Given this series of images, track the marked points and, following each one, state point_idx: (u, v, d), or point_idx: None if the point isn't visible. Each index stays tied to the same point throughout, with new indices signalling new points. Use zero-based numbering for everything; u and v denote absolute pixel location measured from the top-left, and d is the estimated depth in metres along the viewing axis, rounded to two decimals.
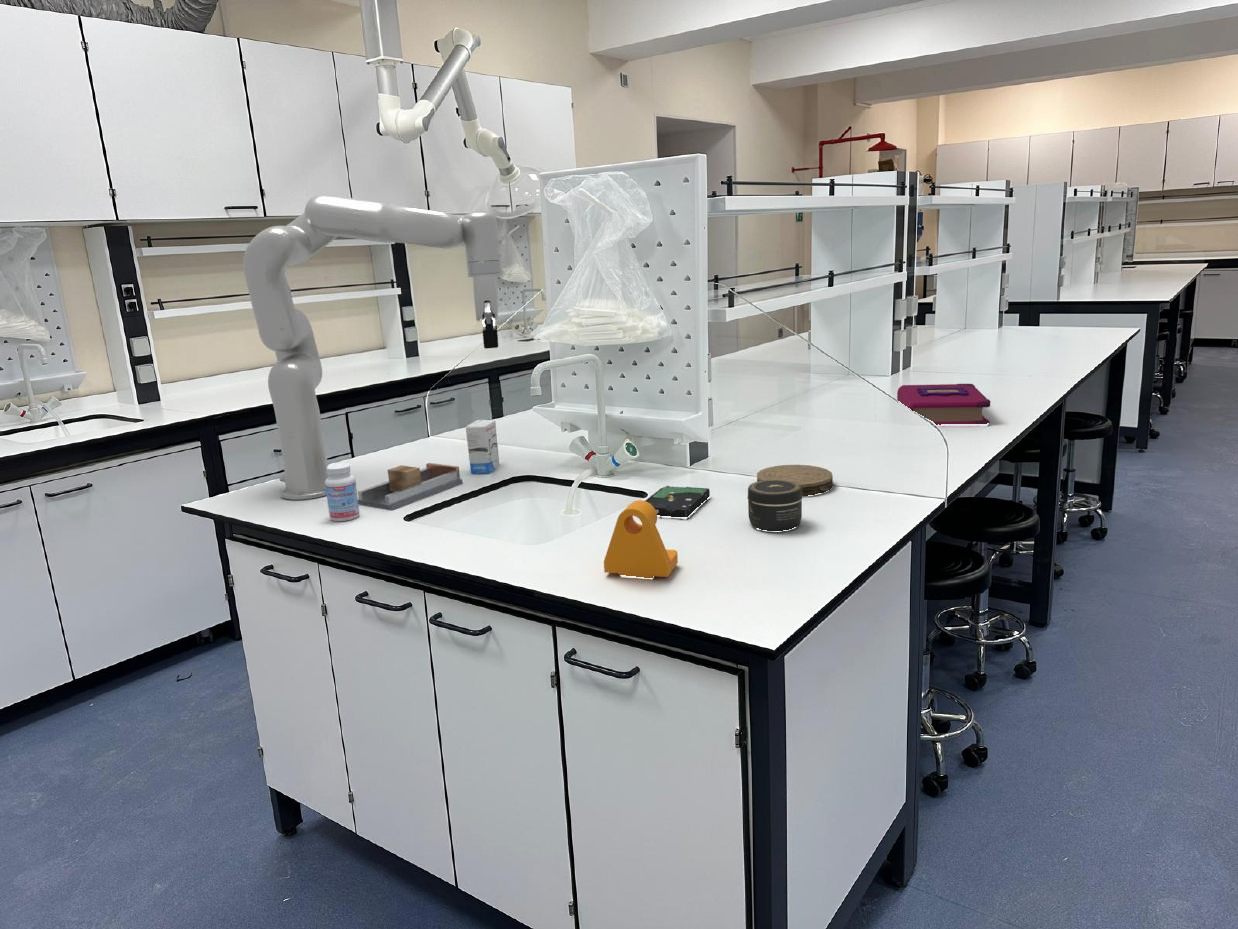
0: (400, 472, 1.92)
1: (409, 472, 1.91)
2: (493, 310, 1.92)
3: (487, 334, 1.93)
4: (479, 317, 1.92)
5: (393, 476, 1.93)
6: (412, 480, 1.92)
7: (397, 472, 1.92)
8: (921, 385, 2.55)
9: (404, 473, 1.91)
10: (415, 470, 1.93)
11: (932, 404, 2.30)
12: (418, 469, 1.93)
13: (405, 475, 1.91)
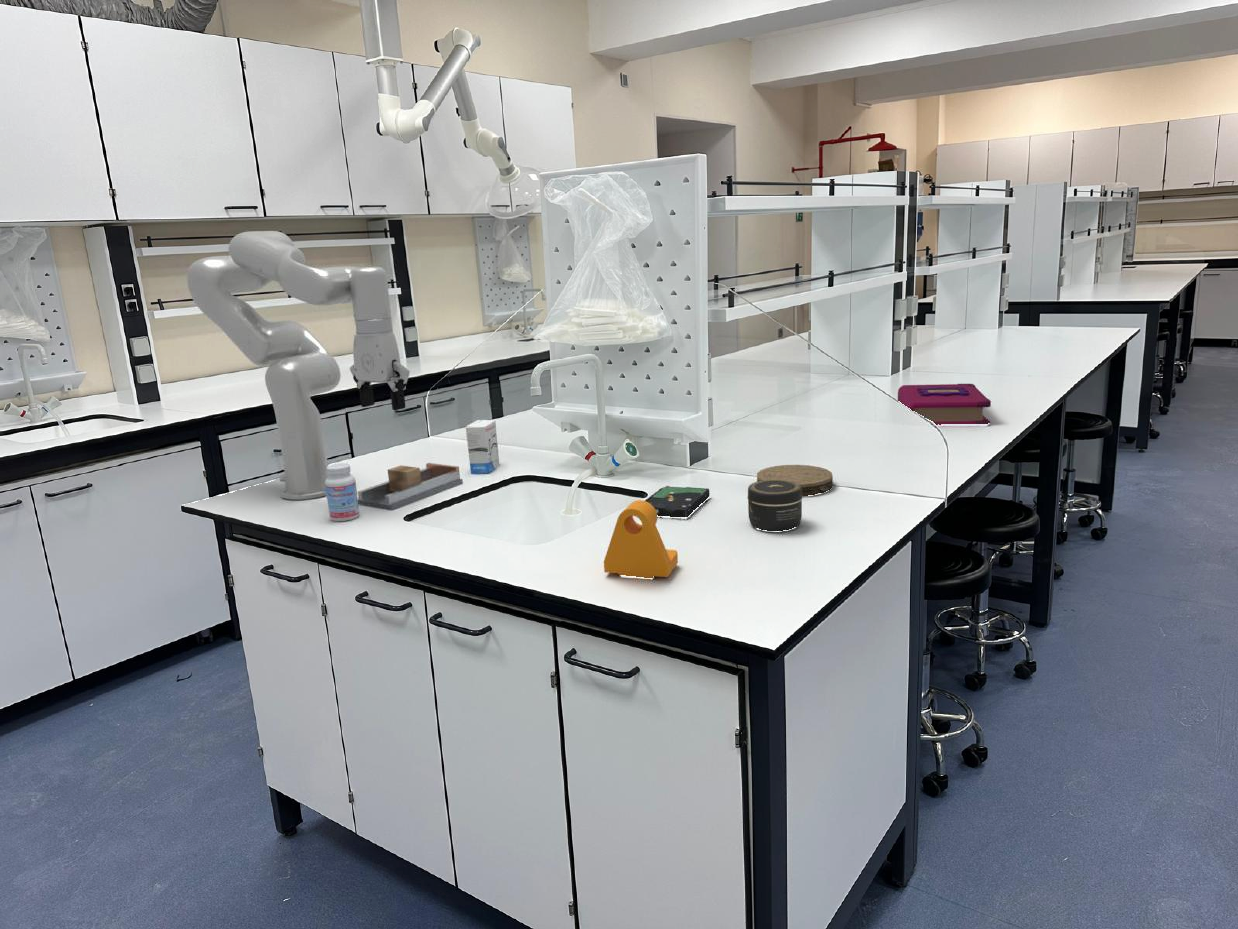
0: (400, 472, 1.92)
1: (409, 472, 1.91)
2: None
3: (398, 395, 1.81)
4: (388, 378, 1.80)
5: (393, 476, 1.93)
6: (412, 480, 1.92)
7: (397, 472, 1.92)
8: (921, 385, 2.55)
9: (404, 473, 1.91)
10: (415, 470, 1.93)
11: (932, 404, 2.30)
12: (418, 469, 1.93)
13: (405, 475, 1.91)
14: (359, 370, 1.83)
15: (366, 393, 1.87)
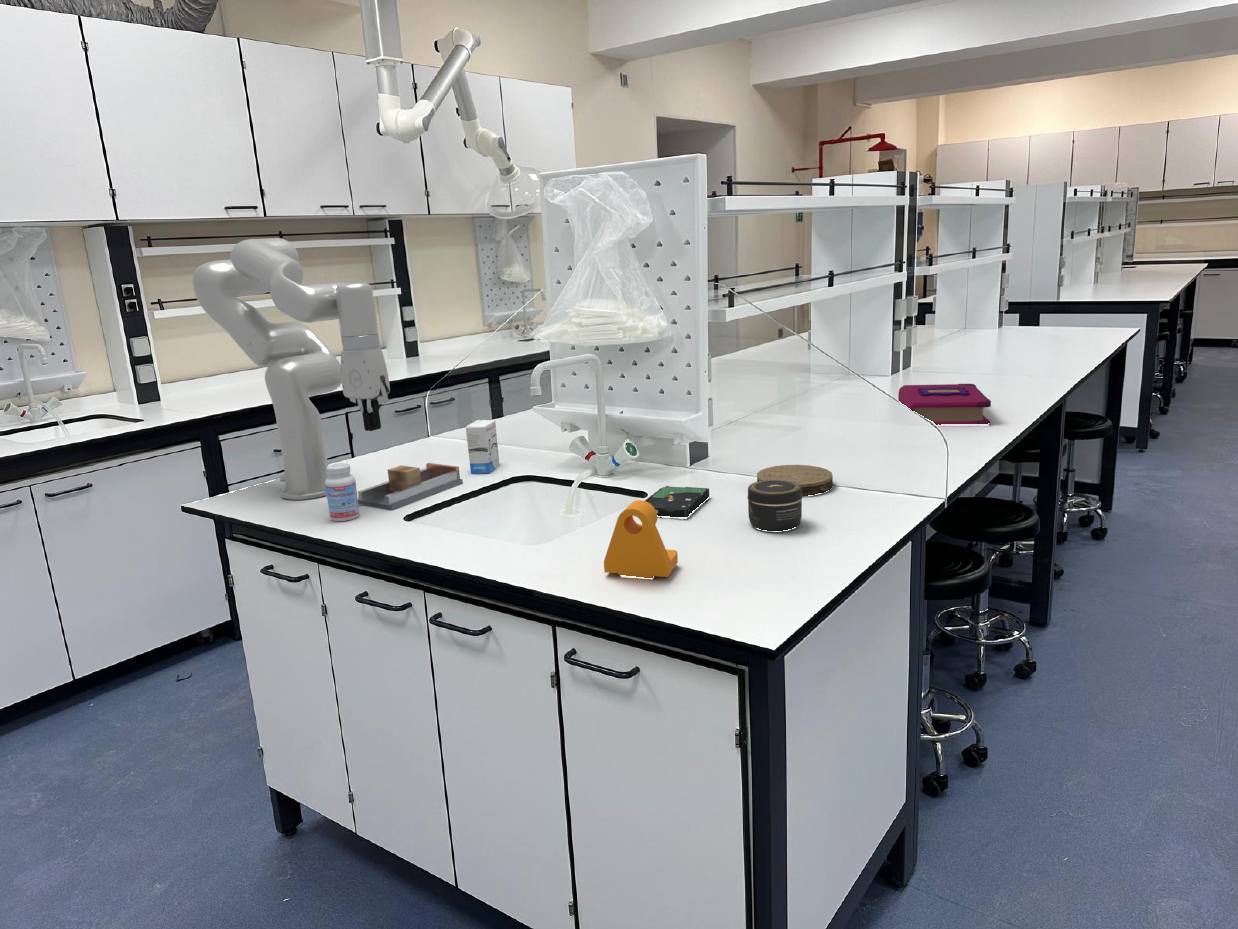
0: (400, 472, 1.92)
1: (409, 472, 1.91)
2: (388, 385, 1.81)
3: (373, 416, 1.83)
4: (376, 394, 1.78)
5: (393, 476, 1.93)
6: (412, 480, 1.92)
7: (397, 472, 1.92)
8: (922, 385, 2.55)
9: (404, 473, 1.91)
10: (415, 470, 1.93)
11: (932, 404, 2.30)
12: (418, 469, 1.93)
13: (405, 475, 1.91)
14: (347, 387, 1.82)
15: None
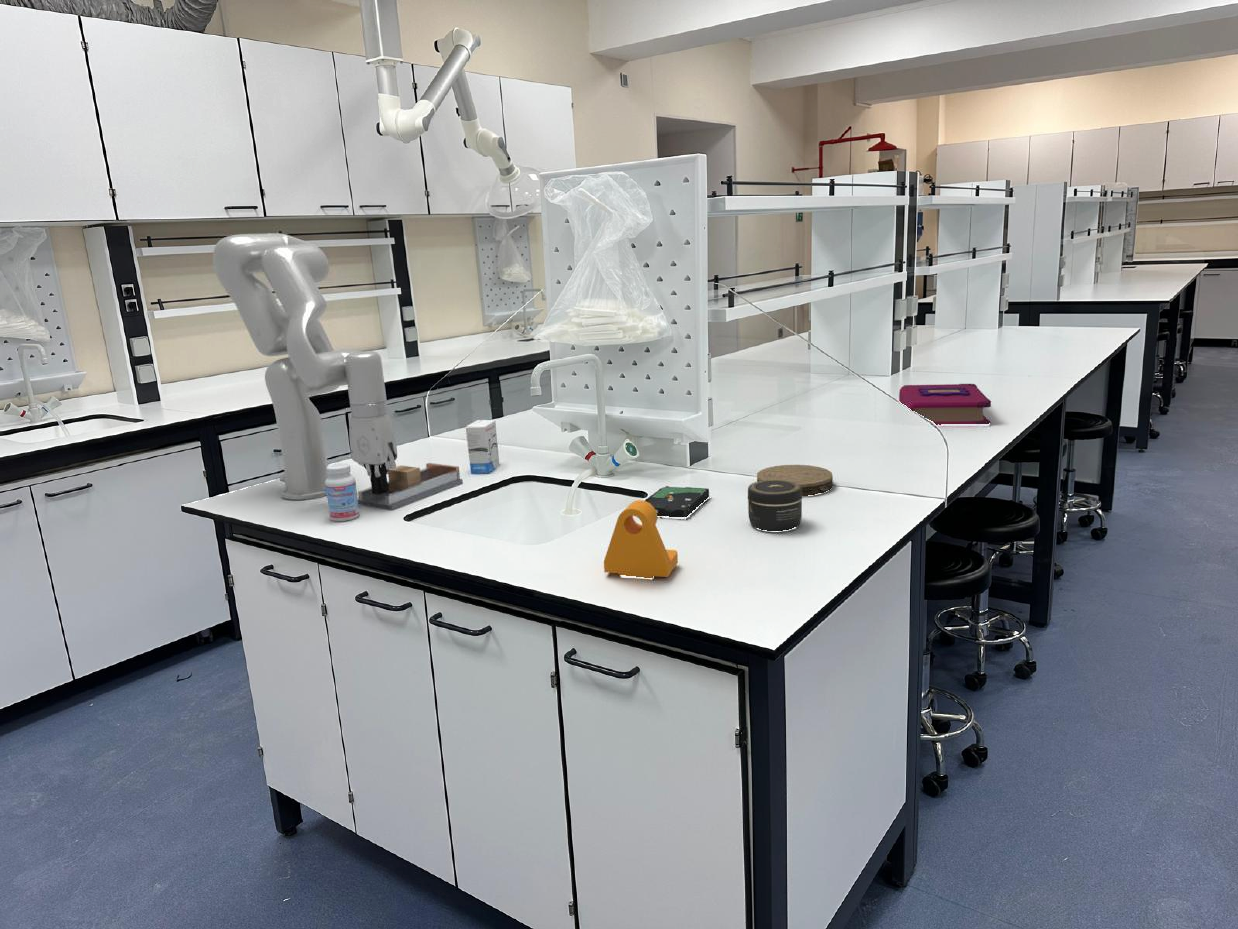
0: (400, 472, 1.92)
1: (409, 472, 1.91)
2: (395, 451, 1.84)
3: (381, 480, 1.86)
4: (384, 460, 1.82)
5: (393, 476, 1.93)
6: (412, 480, 1.92)
7: (397, 472, 1.92)
8: (923, 385, 2.55)
9: (404, 473, 1.91)
10: (415, 470, 1.93)
11: (932, 404, 2.30)
12: (418, 469, 1.93)
13: (405, 475, 1.91)
14: (355, 452, 1.85)
15: None
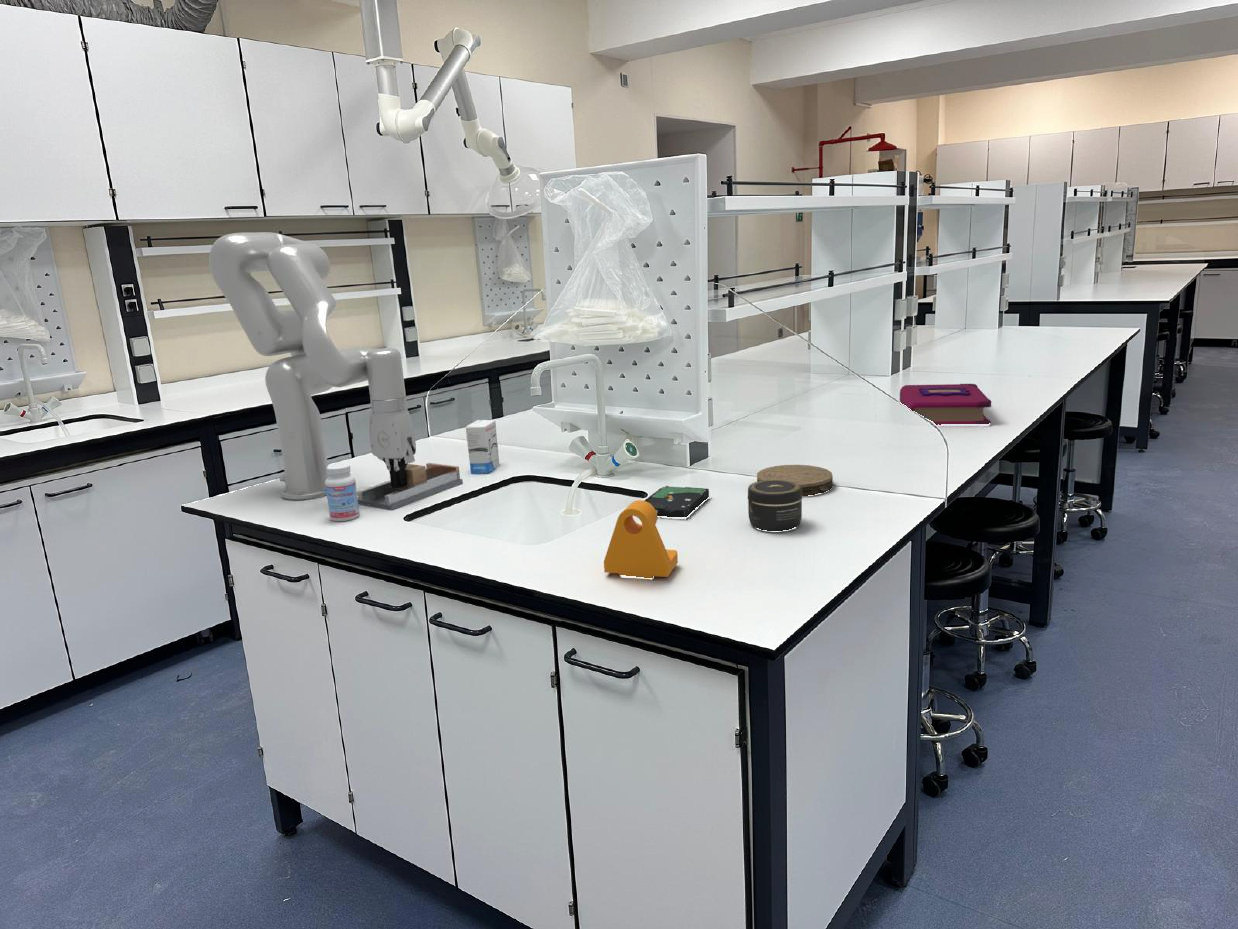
0: (406, 470, 1.93)
1: (415, 470, 1.93)
2: (414, 445, 1.89)
3: (400, 474, 1.91)
4: (403, 455, 1.87)
5: None
6: (417, 478, 1.93)
7: None
8: (923, 385, 2.55)
9: (410, 471, 1.92)
10: (420, 468, 1.94)
11: (933, 404, 2.30)
12: (423, 467, 1.95)
13: (410, 473, 1.92)
14: (375, 446, 1.90)
15: None
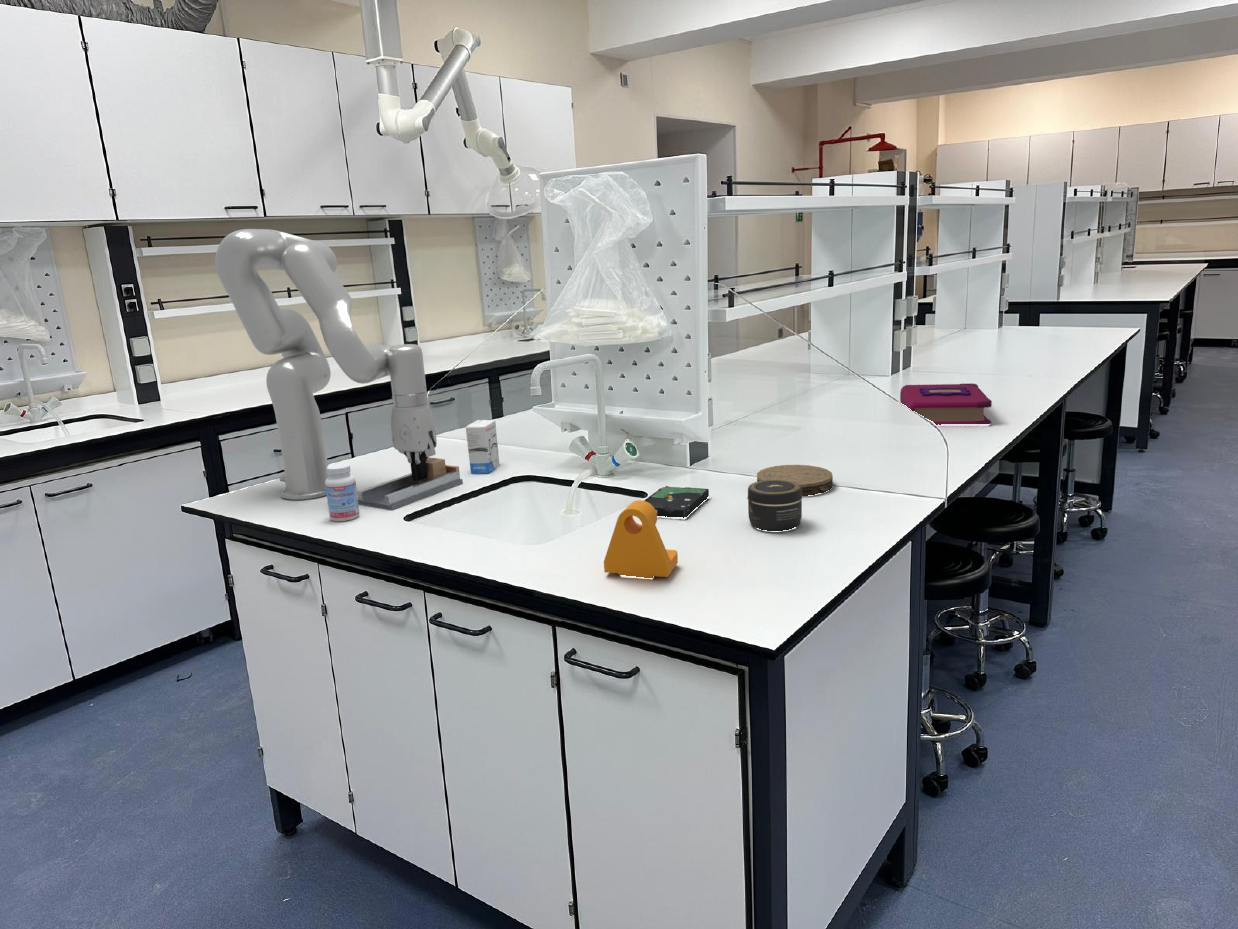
0: (426, 463, 1.98)
1: (435, 463, 1.98)
2: (435, 439, 1.94)
3: (421, 467, 1.96)
4: (425, 448, 1.92)
5: None
6: (437, 471, 1.99)
7: None
8: (924, 385, 2.55)
9: (430, 464, 1.97)
10: (440, 461, 1.99)
11: (933, 404, 2.30)
12: (443, 460, 2.00)
13: (431, 466, 1.97)
14: (397, 440, 1.95)
15: None
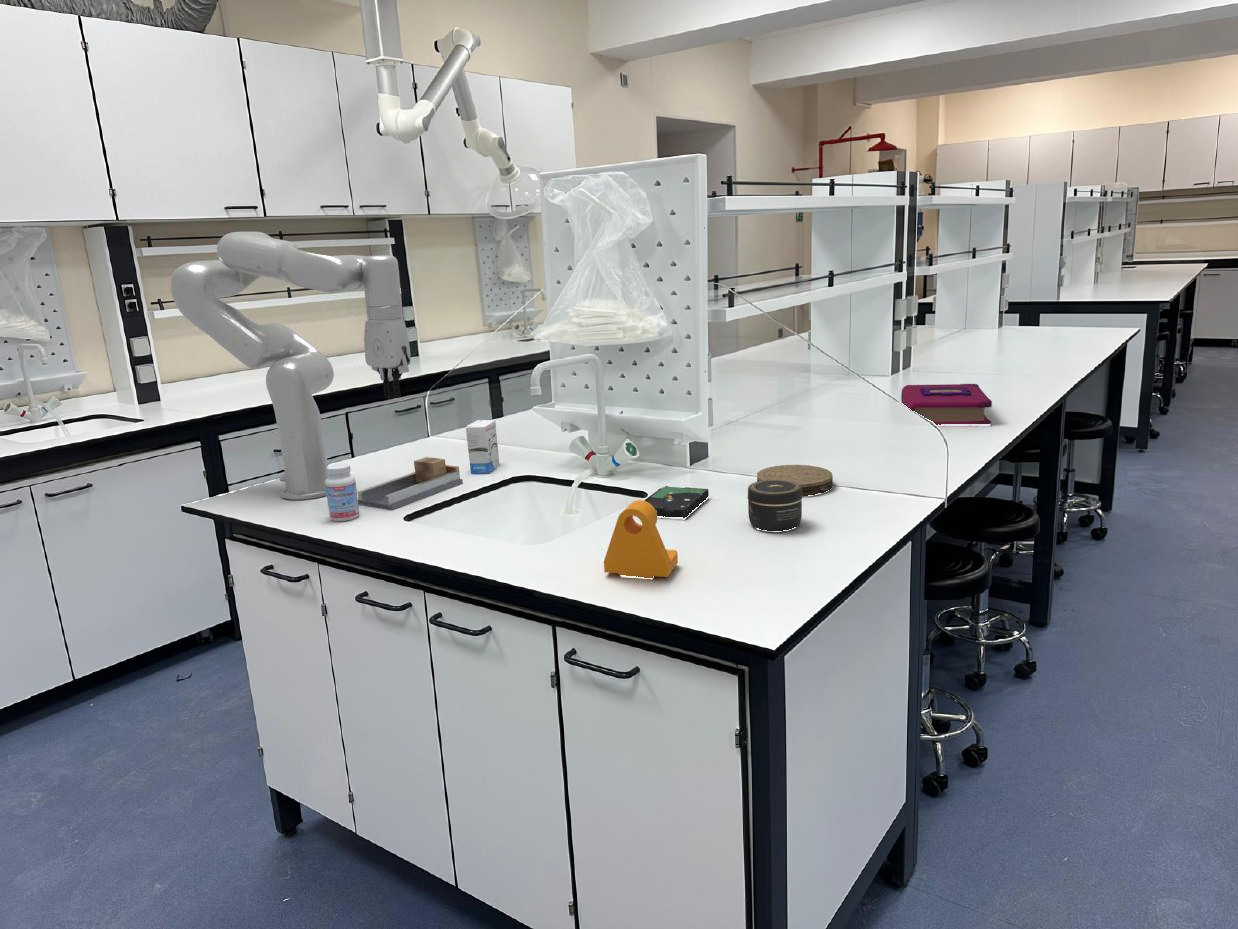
0: (426, 463, 1.98)
1: (435, 463, 1.98)
2: (408, 355, 1.87)
3: (394, 384, 1.90)
4: (397, 363, 1.85)
5: (419, 467, 2.00)
6: (437, 470, 1.99)
7: (423, 463, 1.99)
8: (925, 385, 2.55)
9: (430, 464, 1.98)
10: (441, 461, 1.99)
11: (933, 404, 2.30)
12: (443, 460, 2.00)
13: (431, 466, 1.97)
14: (369, 355, 1.88)
15: None
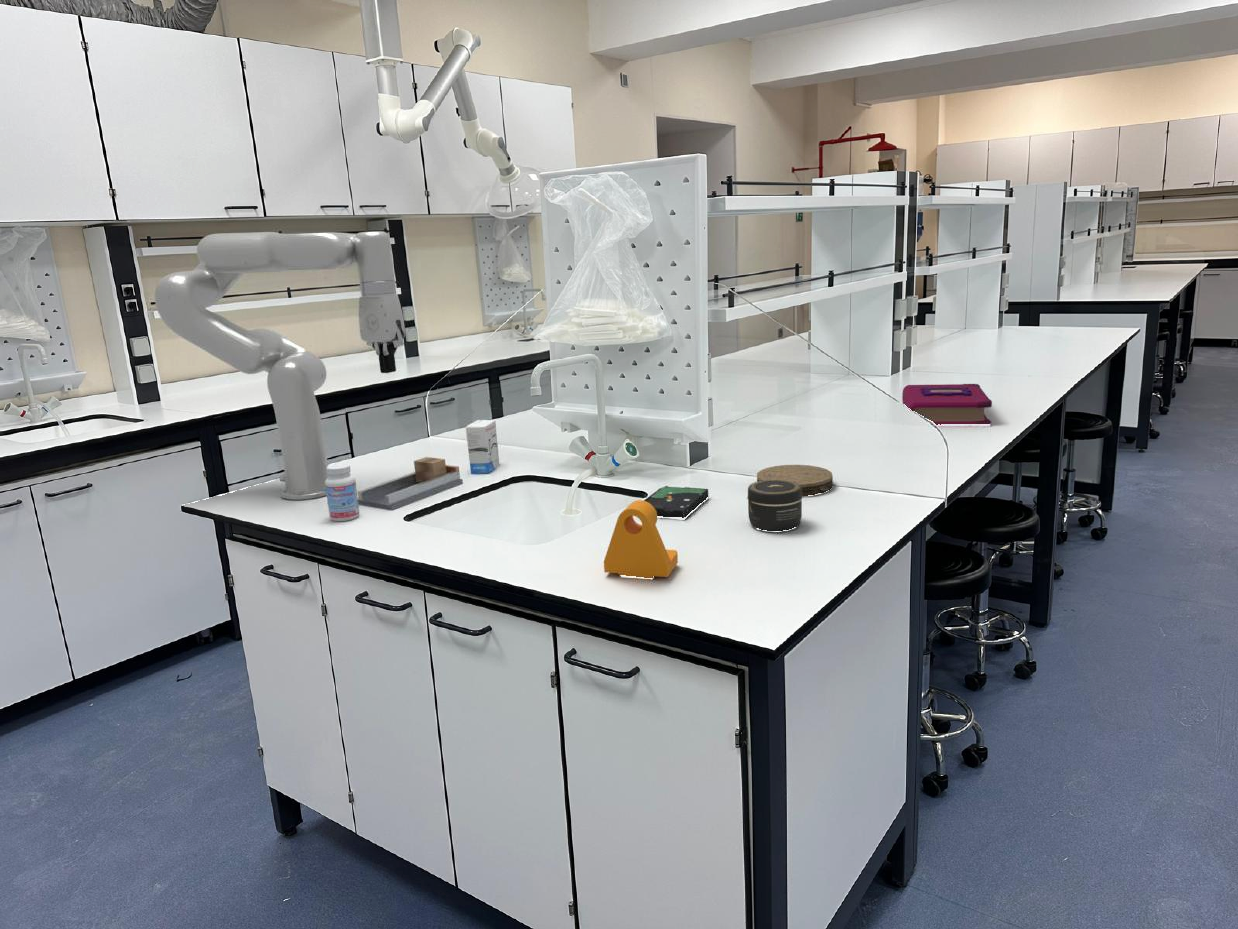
0: (426, 463, 1.98)
1: (435, 463, 1.98)
2: (403, 329, 1.91)
3: (389, 358, 1.93)
4: (392, 337, 1.89)
5: (419, 467, 2.00)
6: (437, 470, 1.99)
7: (423, 463, 1.99)
8: (926, 385, 2.55)
9: (430, 464, 1.98)
10: (441, 461, 1.99)
11: (933, 404, 2.30)
12: (443, 460, 2.00)
13: (431, 466, 1.97)
14: (364, 331, 1.92)
15: None
